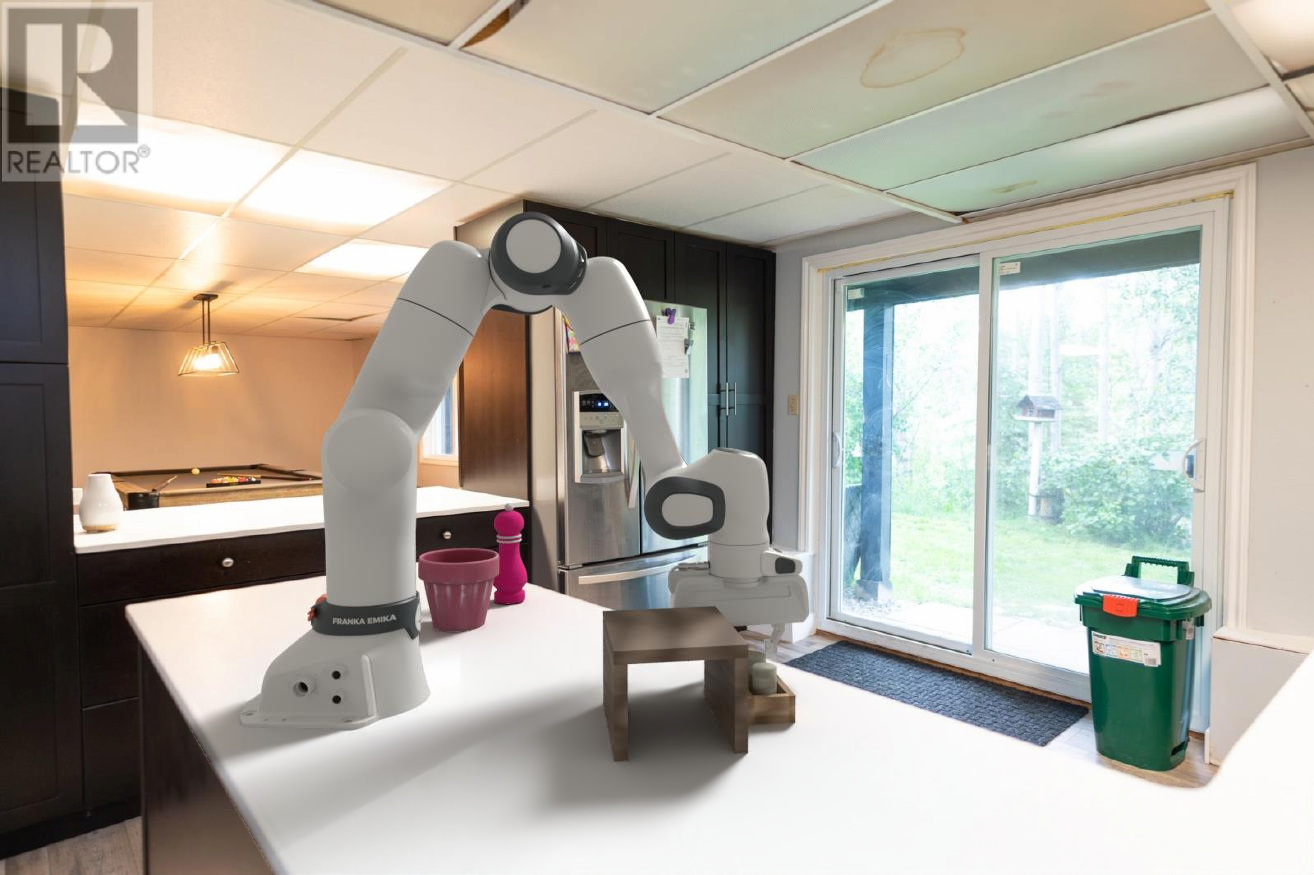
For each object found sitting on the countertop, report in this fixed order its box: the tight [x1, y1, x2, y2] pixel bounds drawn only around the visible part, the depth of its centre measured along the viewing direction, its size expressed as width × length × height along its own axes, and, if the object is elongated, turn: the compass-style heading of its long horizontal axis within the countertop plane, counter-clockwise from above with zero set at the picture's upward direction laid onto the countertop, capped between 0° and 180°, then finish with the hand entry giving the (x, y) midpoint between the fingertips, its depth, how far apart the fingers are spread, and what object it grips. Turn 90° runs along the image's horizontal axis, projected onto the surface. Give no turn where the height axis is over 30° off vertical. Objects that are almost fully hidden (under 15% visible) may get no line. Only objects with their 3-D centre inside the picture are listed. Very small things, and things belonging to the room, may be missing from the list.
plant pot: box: [417, 547, 499, 632], centre depth 129 cm, size 14×14×13 cm
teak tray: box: [748, 647, 796, 726], centre depth 96 cm, size 6×18×6 cm, turn 9°
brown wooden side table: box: [602, 606, 749, 763], centre depth 86 cm, size 15×16×12 cm
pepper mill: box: [493, 502, 528, 605], centre depth 146 cm, size 7×7×20 cm
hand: (739, 654), depth 103 cm, fingers open, 8 cm apart
